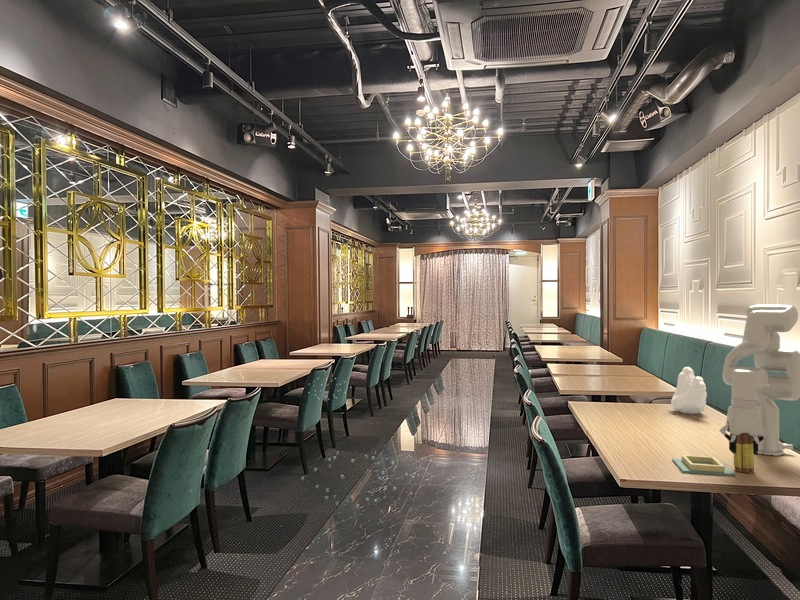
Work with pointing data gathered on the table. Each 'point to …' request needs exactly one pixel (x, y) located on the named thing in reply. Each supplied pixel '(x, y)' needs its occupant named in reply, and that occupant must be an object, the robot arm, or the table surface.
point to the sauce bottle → (744, 453)
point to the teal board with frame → (702, 465)
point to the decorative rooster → (689, 393)
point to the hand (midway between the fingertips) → (743, 452)
